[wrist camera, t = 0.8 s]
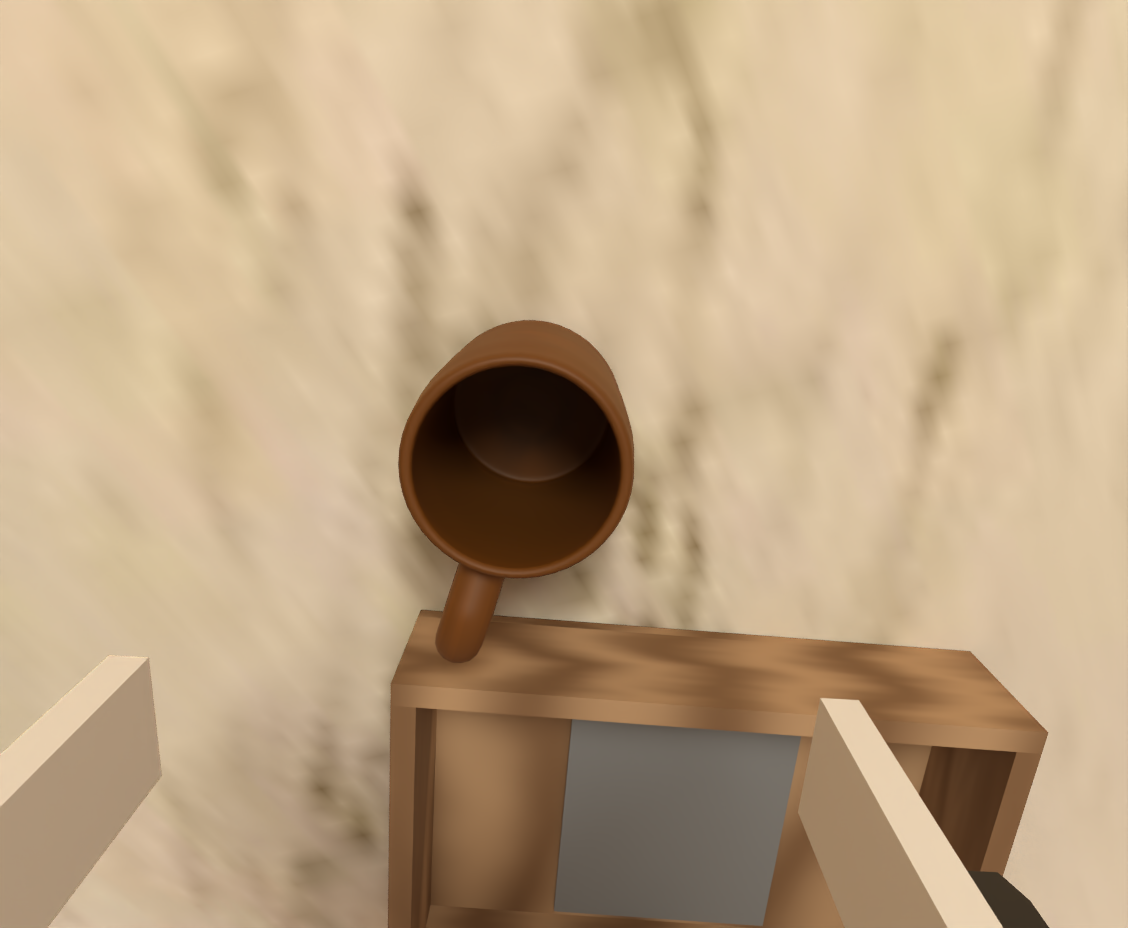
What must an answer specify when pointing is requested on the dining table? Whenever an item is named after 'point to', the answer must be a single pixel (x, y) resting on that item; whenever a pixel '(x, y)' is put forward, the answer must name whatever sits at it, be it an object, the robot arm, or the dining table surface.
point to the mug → (515, 466)
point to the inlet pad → (672, 821)
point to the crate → (679, 699)
